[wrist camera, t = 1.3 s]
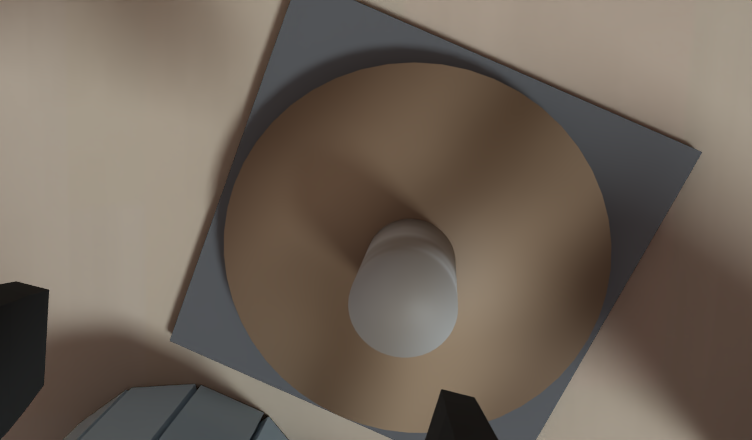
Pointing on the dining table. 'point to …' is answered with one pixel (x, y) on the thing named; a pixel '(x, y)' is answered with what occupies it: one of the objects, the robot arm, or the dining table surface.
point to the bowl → (175, 417)
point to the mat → (409, 44)
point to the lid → (416, 245)
